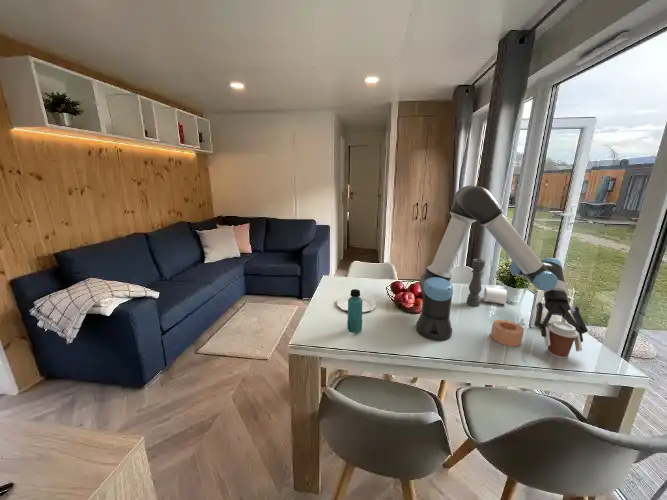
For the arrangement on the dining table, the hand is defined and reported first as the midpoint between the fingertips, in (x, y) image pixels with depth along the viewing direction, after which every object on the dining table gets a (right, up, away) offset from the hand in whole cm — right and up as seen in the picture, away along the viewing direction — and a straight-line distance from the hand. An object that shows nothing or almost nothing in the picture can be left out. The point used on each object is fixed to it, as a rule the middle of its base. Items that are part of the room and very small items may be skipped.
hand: (563, 347), depth 105 cm
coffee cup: (+1, -4, +4) cm, 6 cm away
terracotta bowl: (-13, -1, +14) cm, 19 cm away
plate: (-75, +7, +44) cm, 87 cm away
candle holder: (-11, +7, +47) cm, 48 cm away
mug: (+3, +8, +52) cm, 52 cm away
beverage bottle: (-78, 0, +18) cm, 80 cm away
